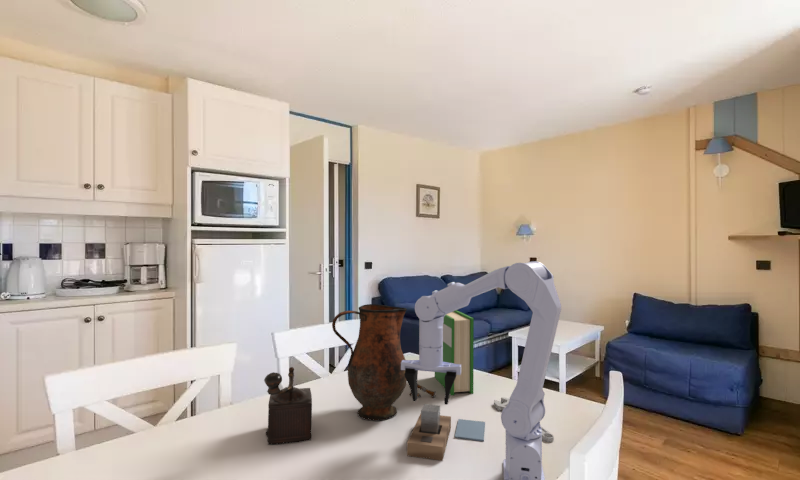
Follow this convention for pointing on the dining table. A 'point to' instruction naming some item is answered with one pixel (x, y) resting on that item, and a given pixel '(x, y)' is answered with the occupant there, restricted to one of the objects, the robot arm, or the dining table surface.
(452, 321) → the hardback book
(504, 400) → the adjustable wrench
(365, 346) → the pitcher
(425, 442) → the brown flat rectangular block
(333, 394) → the dining table surface
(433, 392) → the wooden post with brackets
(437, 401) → the dining table surface
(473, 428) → the slate mat
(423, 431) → the steel peg
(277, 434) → the manual coffee grinder
